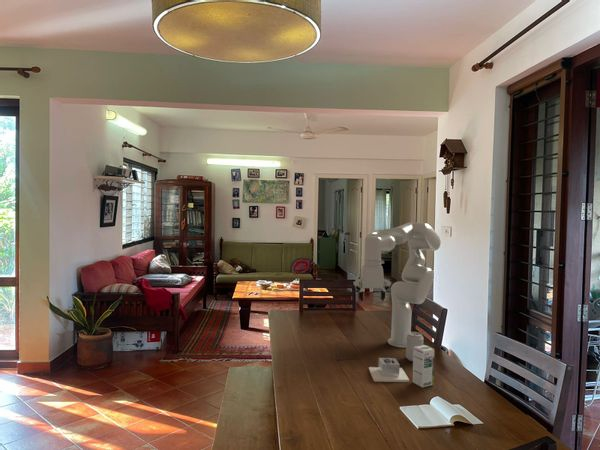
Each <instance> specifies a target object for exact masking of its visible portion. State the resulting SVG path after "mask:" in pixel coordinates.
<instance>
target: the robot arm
mask: <svg viewBox="0 0 600 450" xmlns="http://www.w3.org/2000/svg"><path fill="white" fill-rule="evenodd" d="M406 242H407V245H408V252H409V256H408V259H407V261H406V264H405V265H404V267H403V270H402V273H401V279H402V281H399V280H398V281H396V282H394V283H392V282H391V281H390V280H388V279H386V278H385V276H384V275H385V274H384V268H383V266H382V264H385V260H382V252H390V251H393V250H394V249H395V247H396V245H402V244H404V243H406ZM441 243H442V242H441V238H440V236H439V235H438V233H437V232H436V230H434V228H433V227H432V226H431V225H429V224H428V223H426V222H413V221H410V222H409V221H408V222H406V223H404V224H402V225H399V226H396V227H391V228H390V227H389V228H386V229H380V230H376V231H373V232H370V233H369V234H368V235H367V236H365V238H364V259H363V261H364V264H363V265H361V266H362V267H361V271H360V278H359V279H356V280H355V281H353V285H354V288H355V289H356V290H357V291H358V299H359V300H360V301H361V302H363V301H364V292H363V291H364V290H365V289H381V291H380V300H381V301H383V302H384V301H385V299H386V293H387V291H388V290H389V289H390V295H391V305H392V306H391V330H390V331H391V333H390V334H391V335H390V338H389V339H387V343H388V344H389V345H390V346H392V347H396V348H401V349H403V348H405V349H406V341H407V335H408V333H409V332H412V331H411V330H412V307H411V305H410V304H416V305H421V304H423V303H424V302H425V300H426V298H428V297H427V296H428V294H429V292H430V290H431V288H432V285H433V282H434V278H435V276H434V271H433V269H432V268H431V267H428V266H425V263H426V257H425V255H424V254H423V251H429V252H430V251H431V252H432V251H433V252H436V251H438V250H439V248H441ZM358 284H360V286H359V285H358ZM385 284H386V285H385ZM390 286H391V288H390Z"/></svg>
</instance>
